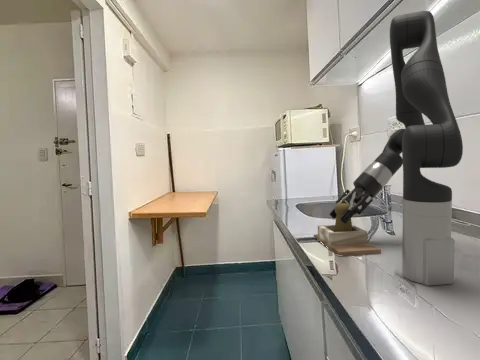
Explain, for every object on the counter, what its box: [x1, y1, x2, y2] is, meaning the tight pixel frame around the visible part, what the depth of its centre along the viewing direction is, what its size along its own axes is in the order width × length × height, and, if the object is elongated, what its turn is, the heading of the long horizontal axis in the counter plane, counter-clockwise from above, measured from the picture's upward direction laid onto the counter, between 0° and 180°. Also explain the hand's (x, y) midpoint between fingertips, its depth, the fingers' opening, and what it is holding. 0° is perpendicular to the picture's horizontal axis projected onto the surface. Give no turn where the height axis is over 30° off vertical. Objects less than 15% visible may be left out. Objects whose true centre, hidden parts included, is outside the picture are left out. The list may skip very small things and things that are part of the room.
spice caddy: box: [313, 224, 382, 257], centre depth 100 cm, size 20×12×5 cm, turn 7°
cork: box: [334, 203, 353, 232], centre depth 102 cm, size 6×6×11 cm
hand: (336, 218), depth 101 cm, fingers open, 7 cm apart
